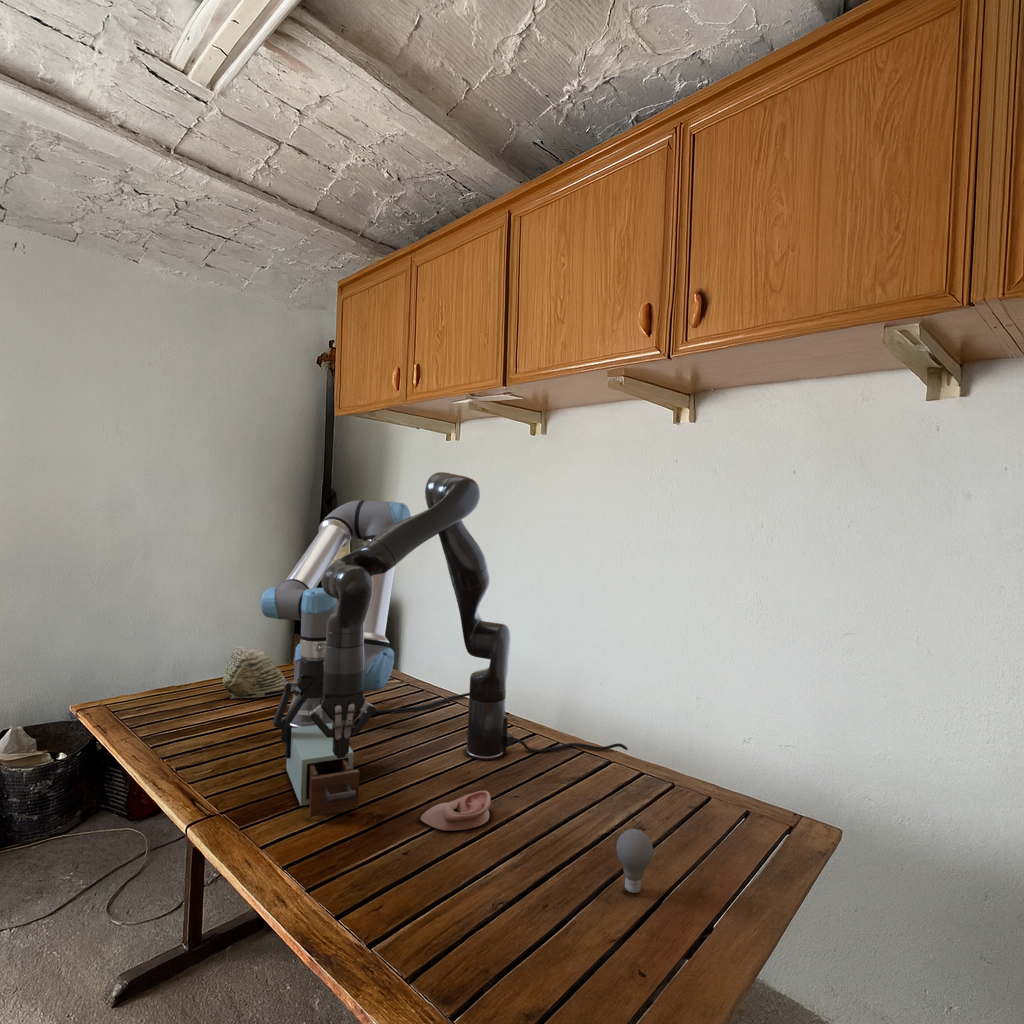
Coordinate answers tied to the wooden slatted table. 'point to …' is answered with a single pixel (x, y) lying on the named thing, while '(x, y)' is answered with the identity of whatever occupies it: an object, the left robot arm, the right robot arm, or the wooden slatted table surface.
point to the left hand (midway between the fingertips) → (313, 752)
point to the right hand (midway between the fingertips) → (340, 756)
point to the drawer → (332, 787)
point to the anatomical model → (459, 812)
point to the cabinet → (309, 756)
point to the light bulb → (634, 857)
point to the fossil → (252, 674)
